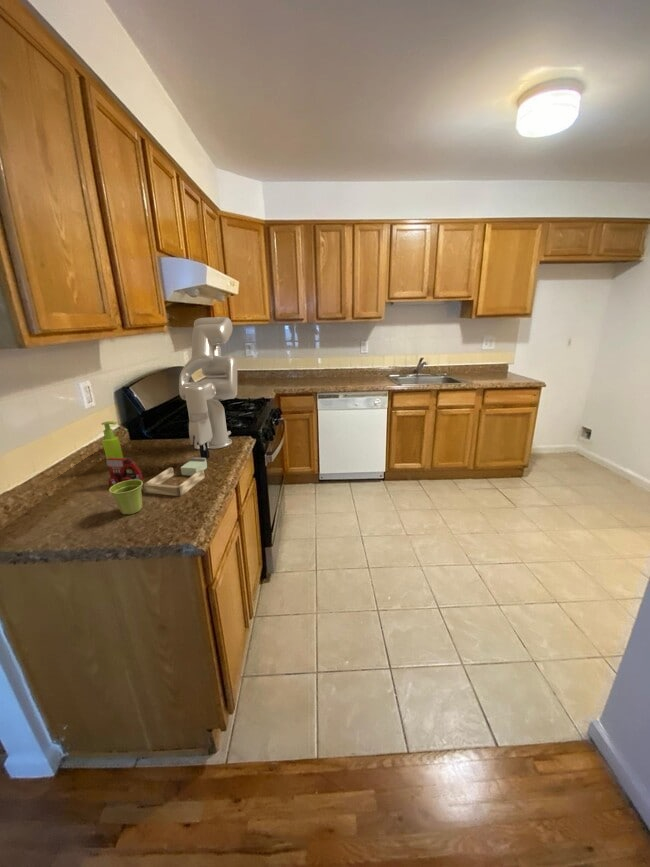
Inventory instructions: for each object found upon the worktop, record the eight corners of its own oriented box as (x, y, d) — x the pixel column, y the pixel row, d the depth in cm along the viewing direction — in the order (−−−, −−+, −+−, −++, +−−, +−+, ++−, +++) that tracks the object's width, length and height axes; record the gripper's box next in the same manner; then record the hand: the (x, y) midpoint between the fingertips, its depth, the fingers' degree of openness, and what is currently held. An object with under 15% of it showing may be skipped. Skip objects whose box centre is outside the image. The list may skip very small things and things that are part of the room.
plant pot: (111, 510, 114) (105, 486, 111) (141, 499, 120) (136, 476, 117) (121, 521, 108) (114, 496, 105) (152, 509, 114) (147, 485, 111)
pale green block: (193, 467, 146) (191, 457, 144) (207, 468, 144) (205, 457, 143) (181, 475, 138) (180, 465, 137) (196, 476, 137) (195, 466, 135)
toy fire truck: (136, 488, 128) (130, 462, 125) (105, 487, 130) (99, 461, 127) (148, 480, 135) (142, 455, 131) (118, 479, 136) (112, 454, 133)
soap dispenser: (123, 470, 144) (111, 423, 138) (106, 471, 144) (94, 424, 138) (130, 464, 150) (120, 419, 143) (114, 465, 150) (103, 420, 143)
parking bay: (170, 474, 139) (169, 467, 138) (204, 477, 135) (203, 470, 134) (144, 492, 125) (142, 484, 124) (181, 496, 122) (179, 488, 121)
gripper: (200, 411, 150) (207, 451, 156) (179, 421, 137) (187, 464, 142) (216, 411, 149) (222, 452, 154) (196, 421, 135) (203, 465, 141)
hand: (205, 458), depth 148 cm, fingers closed
